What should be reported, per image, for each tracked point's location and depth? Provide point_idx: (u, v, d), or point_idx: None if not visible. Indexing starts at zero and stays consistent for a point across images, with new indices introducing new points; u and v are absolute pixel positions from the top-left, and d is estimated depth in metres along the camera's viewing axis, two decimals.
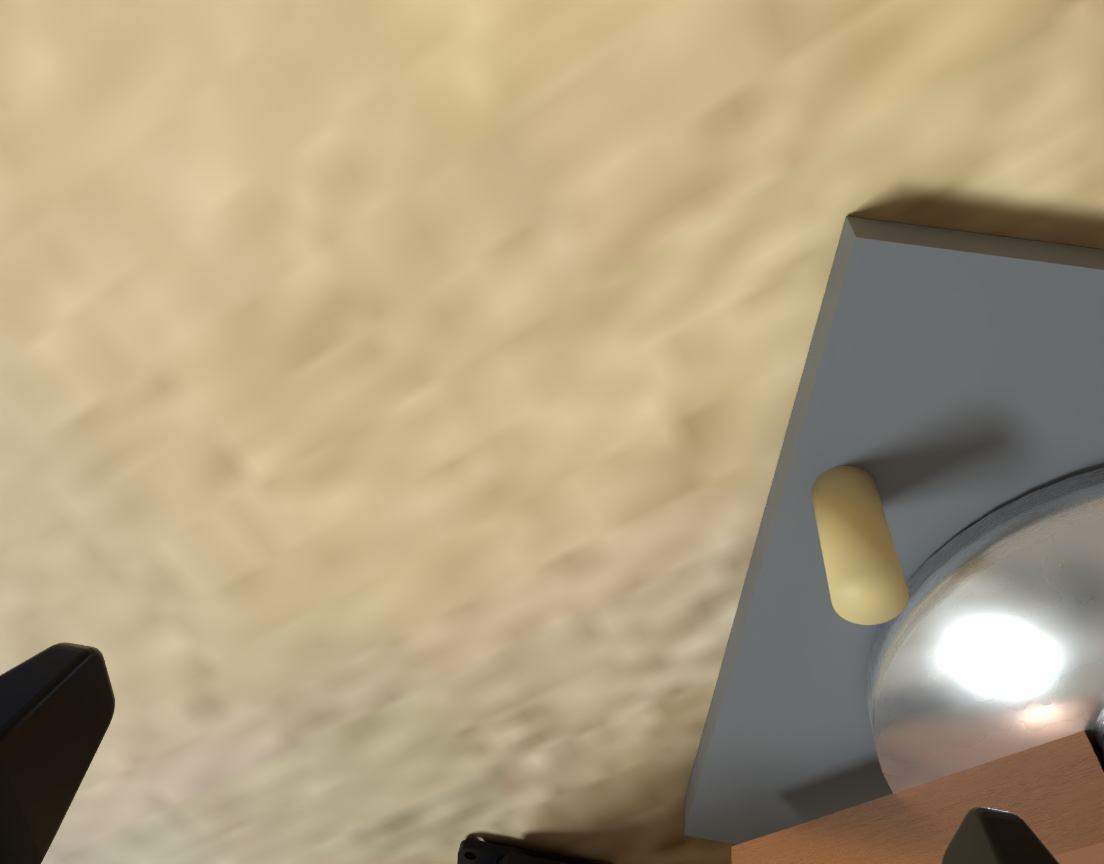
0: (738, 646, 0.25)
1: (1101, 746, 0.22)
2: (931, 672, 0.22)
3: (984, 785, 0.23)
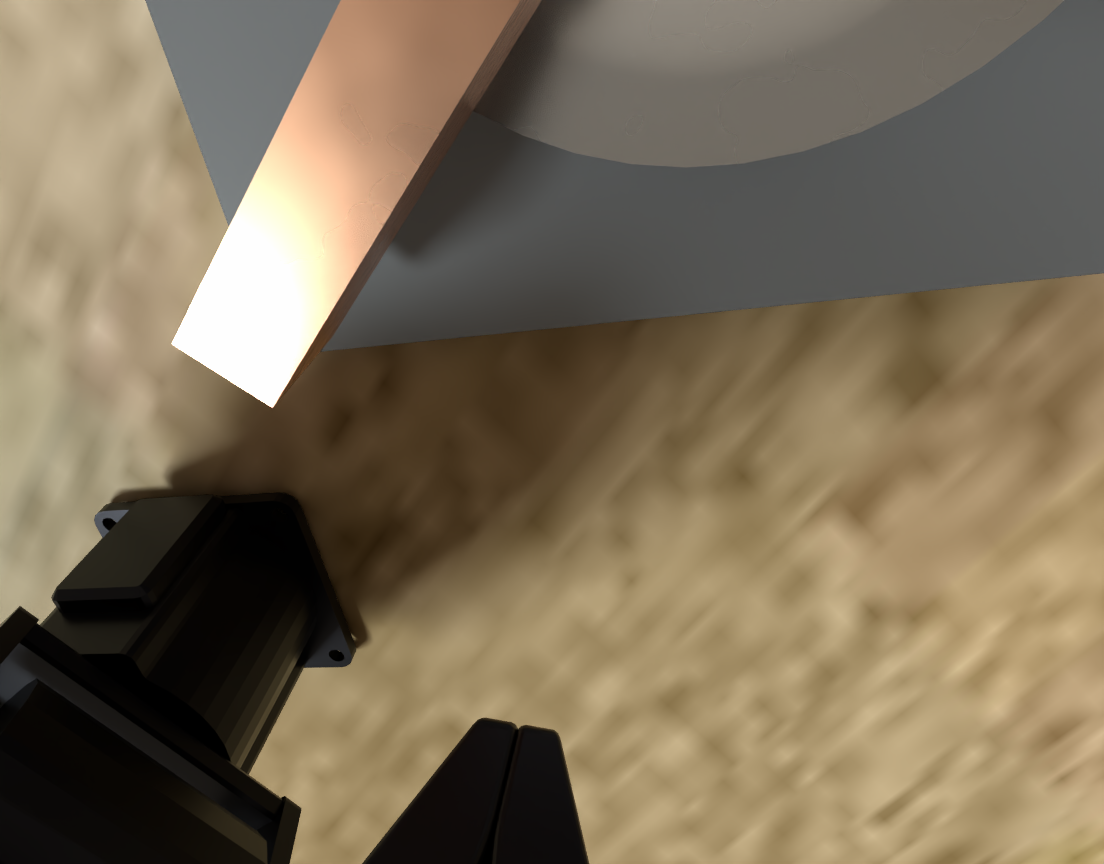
0: None
1: None
2: None
3: None
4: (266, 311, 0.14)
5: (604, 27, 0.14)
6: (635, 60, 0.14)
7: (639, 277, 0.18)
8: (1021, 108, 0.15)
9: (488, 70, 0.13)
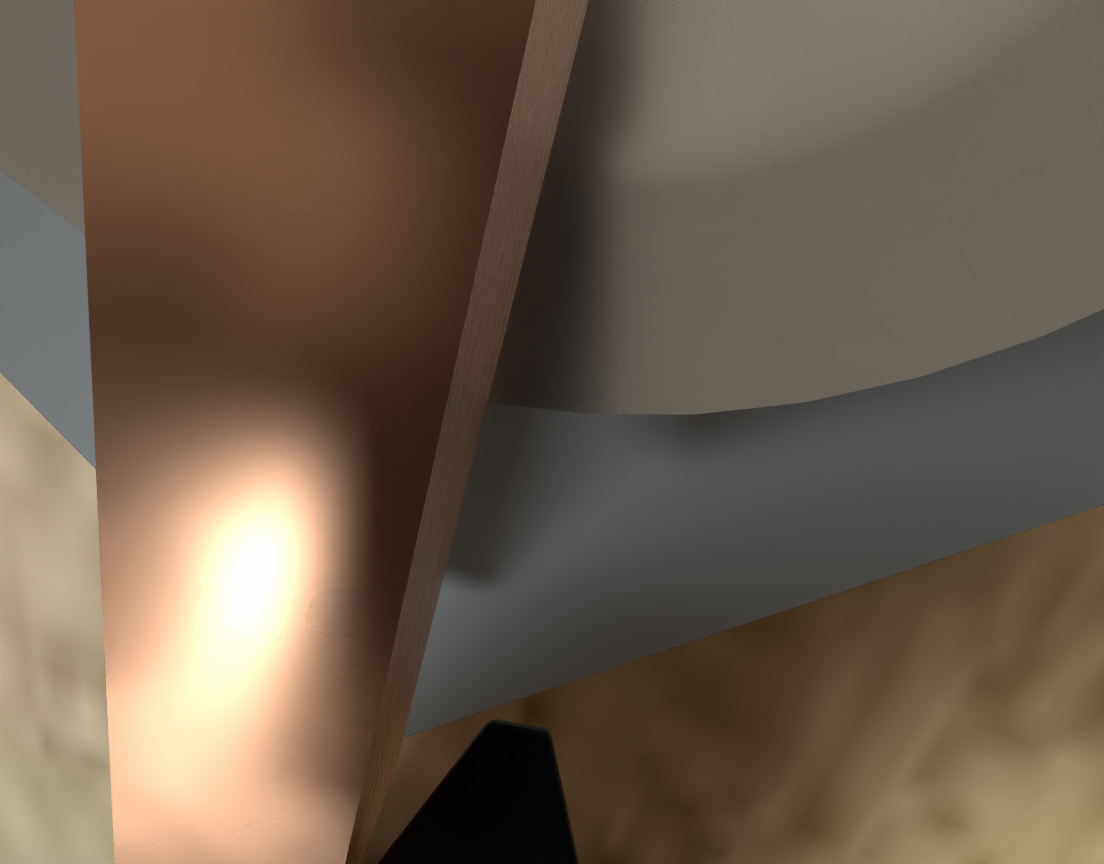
0: None
1: None
2: None
3: None
4: None
5: (678, 188, 0.07)
6: (759, 226, 0.07)
7: (877, 514, 0.10)
8: None
9: (477, 379, 0.06)
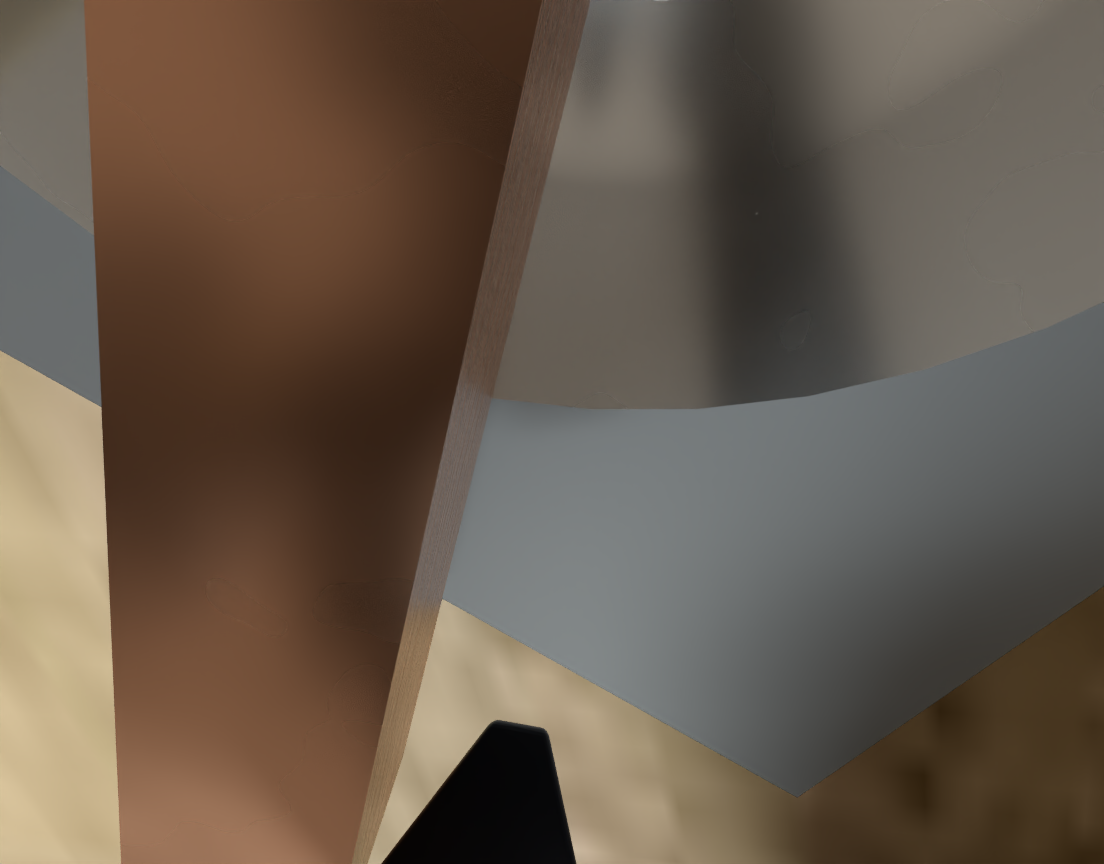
0: None
1: None
2: None
3: None
4: None
5: (682, 183, 0.07)
6: (763, 219, 0.07)
7: None
8: None
9: (483, 372, 0.06)
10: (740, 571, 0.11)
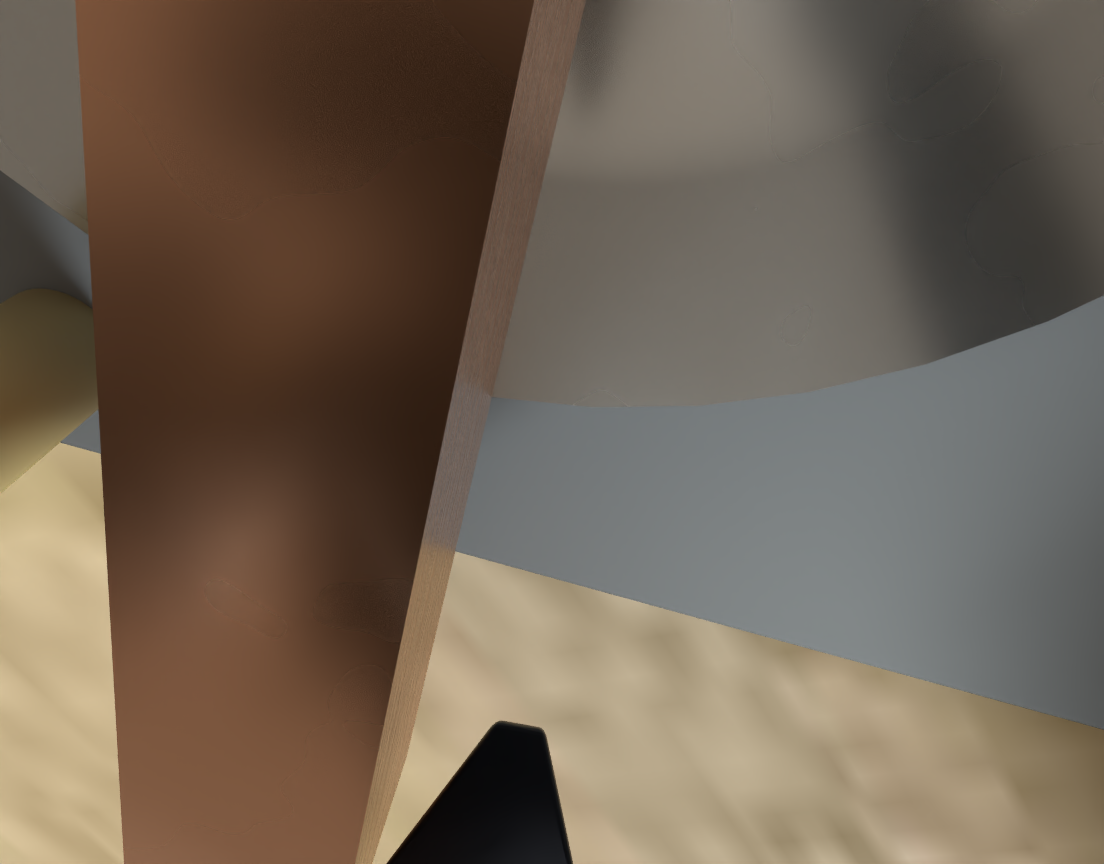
0: (507, 562, 0.12)
1: None
2: None
3: None
4: None
5: (681, 178, 0.07)
6: (760, 215, 0.07)
7: None
8: None
9: (481, 371, 0.06)
10: (1041, 514, 0.10)
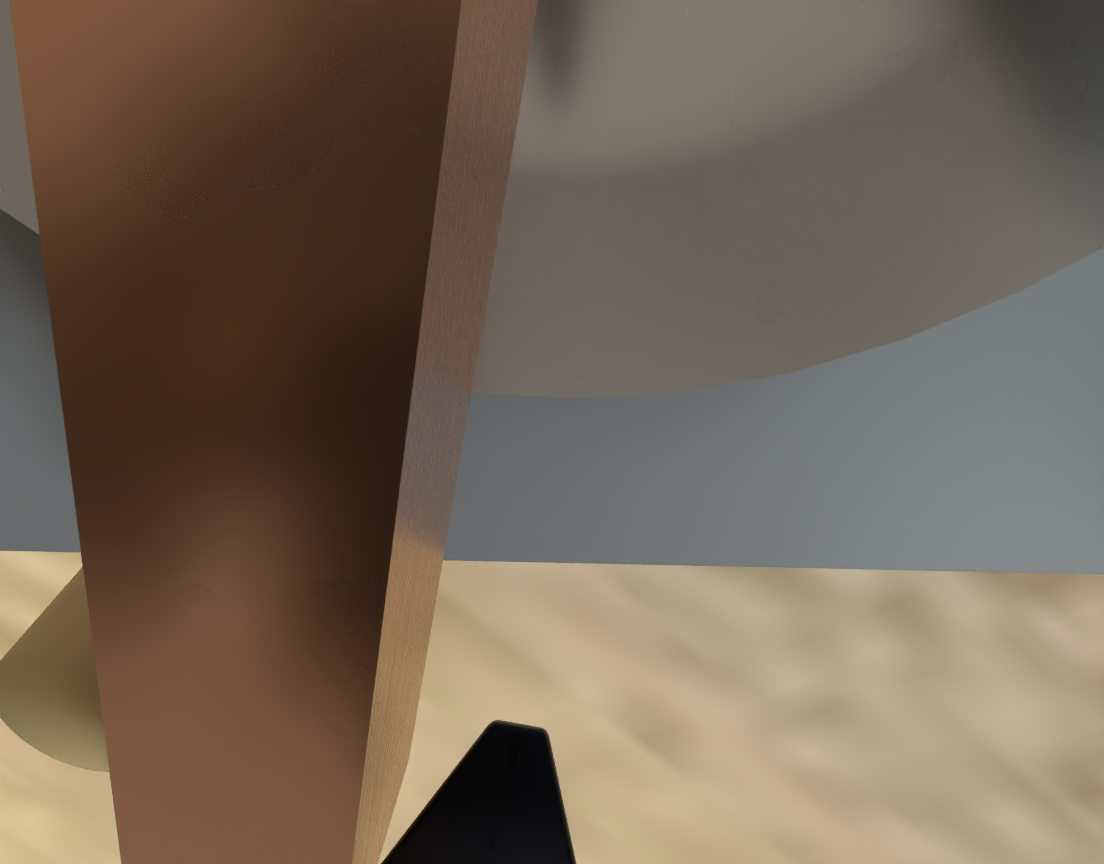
0: (722, 562, 0.11)
1: None
2: None
3: None
4: None
5: (646, 163, 0.07)
6: (729, 197, 0.07)
7: None
8: None
9: (452, 364, 0.06)
10: None
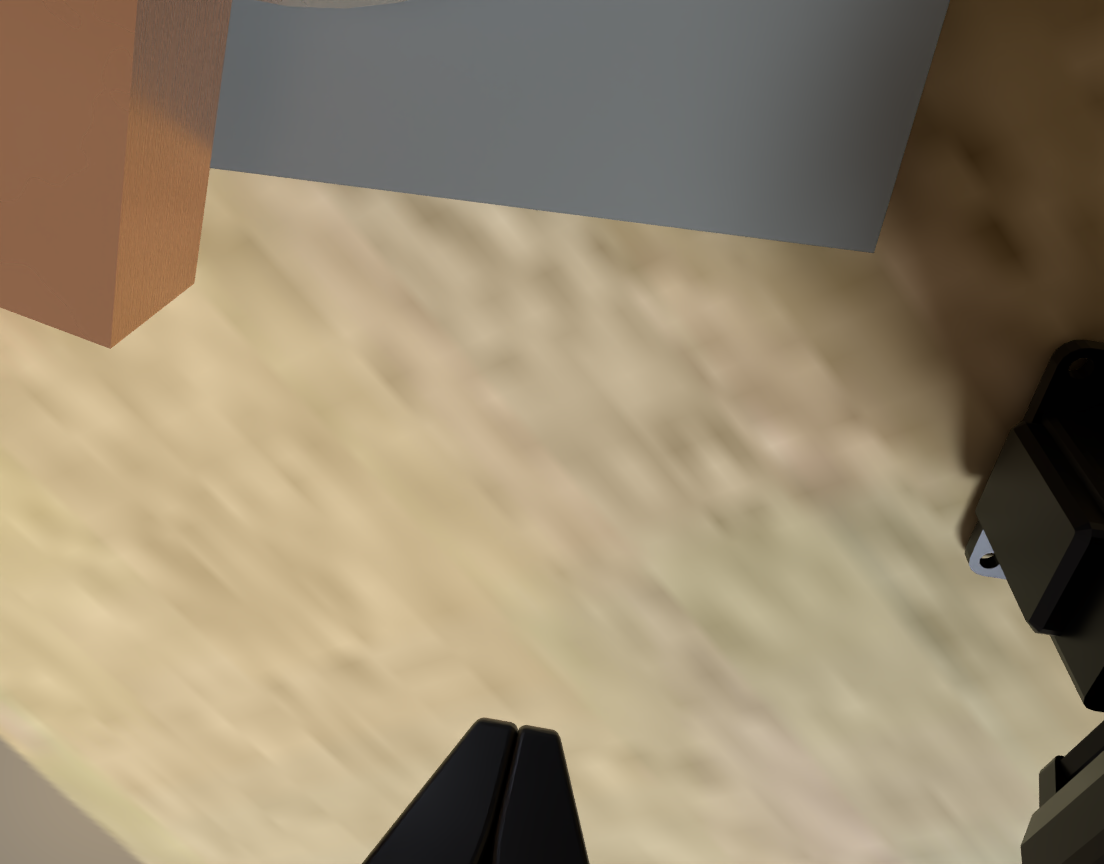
0: (412, 192, 0.18)
1: None
2: None
3: None
4: (64, 243, 0.14)
5: None
6: None
7: None
8: None
9: None
10: (725, 73, 0.16)
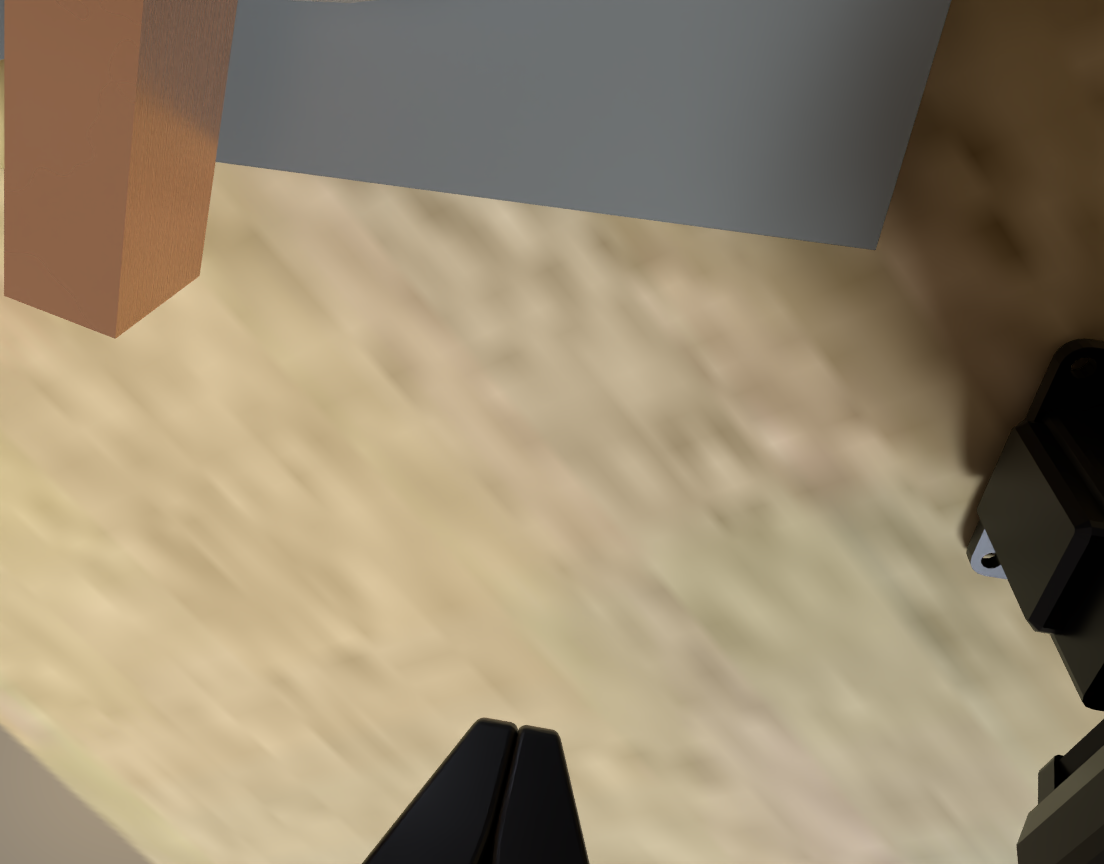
0: (416, 187, 0.18)
1: None
2: None
3: None
4: (70, 234, 0.14)
5: None
6: None
7: None
8: None
9: None
10: (727, 70, 0.16)
